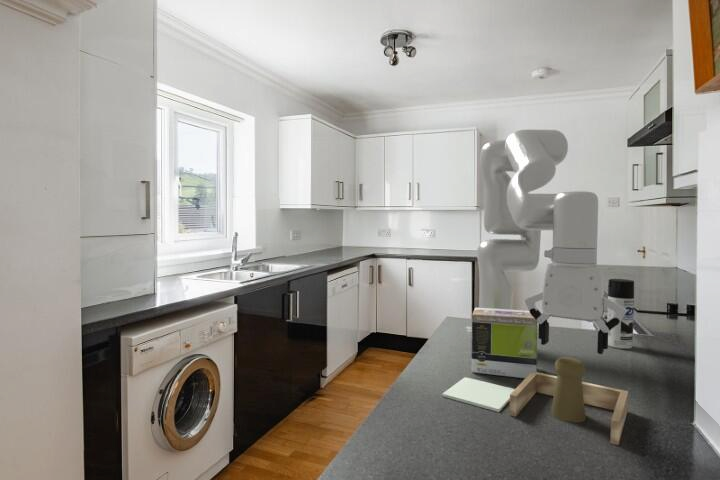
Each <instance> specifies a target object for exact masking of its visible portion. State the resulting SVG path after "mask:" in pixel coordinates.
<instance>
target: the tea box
mask: <svg viewBox="0 0 720 480" xmlns="http://www.w3.org/2000/svg"><path fill="white" fill-rule="evenodd" d="M473 309H474V310H473V311H472V314H471V327H472V334H471V357H470V359H471V373H476V374H483V375H485V374H486V375H494V376H502V377H511V378H520V379H525V378H526V377H527V376H528V375H529V374H530V373H531V372H532V371H534V372H538V371H537V367H538V323H537V320H536V319H535V318H534V317H533V316H532V315H531V314H530V311H529V309H528V310H525V309H512V310H511V309H495V308H479V306H478V307H474V308H473Z"/></svg>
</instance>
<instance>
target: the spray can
mask: <svg viewBox="0 0 720 480" xmlns="http://www.w3.org/2000/svg"><path fill="white" fill-rule="evenodd" d="M607 299H609V300H611V301H613V302H615V303H617V304H618V305H620V306H622V307H624V308H626V310H627V312H626V314H625V315H624V317H623V318H622V320H621V321H620V323H619V324H618V325H616V326H615V327H614V328H612V329H611V330H609V331H608V347H610V348H614V349H618V350H632V349H633V342H634V341H633V338H634V337H633V336H634V316H635V315H634V312H635V311H634V309H635V281H634V280H633V279H632V280H631V279H627V278H625V279H624V278H609V279H608V286H607ZM606 313H607V314H606V315H607V318H606V321H607V322H608V321H610V320H611V319H612V318H613V317H614V316H615V314H616V313H615V311H613V310H611V309H609V308H608V307H607V312H606Z"/></svg>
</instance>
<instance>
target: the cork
mask: <svg viewBox="0 0 720 480" xmlns="http://www.w3.org/2000/svg"><path fill="white" fill-rule="evenodd" d="M554 369H555V373H556V374H557V375H556V376H557V381H556V387H555V392H554V396H552V397H553V399H552V403H551V410H550V414H551V415H552V417H555V418H556V419H558V420H560V421H563V422H564V421H565V422H568V423H577V424H578V423H583V422H585V421H586V419H587V418H586V409H585V403H584V398H583V388H582V382H583V381H582V378H583V377H584V376H585V373H586V366H585V364H584V362H583V361H581V360H580V359H578V358H575V357H569V356H561V357H559V358H557V359H556V361H555V363H554Z"/></svg>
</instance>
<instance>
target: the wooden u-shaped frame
mask: <svg viewBox="0 0 720 480" xmlns="http://www.w3.org/2000/svg"><path fill="white" fill-rule="evenodd" d="M557 376H558V375H552V374H547V373H543V372H540V371H539V372H538V371H537V372H534V371H532V372H531V373H530V374H529V375H528V376H527V377H526V378H523V380H522V381H521V383H519V384H518V386H517V387H516V388H514V389H515V390H514V391H513V392H512V393H511V394H510V401H509V416H512V417H515V418H516V417H517V416H518V415H519V414H520V413H521V412H522V410H523V408H524V407H525V406H526V405H527V404H528V402H529V401H530V400H531V399H532V397H533V396H534V395H535V394H536V393H539V394H544V395H547V396H551V397H554V392H555V387H556V381H557ZM582 388H583V398H584V405H585V404H586V405H588V406H589V405H590V406H593V407H598V408H601V409H602V408H603V409H606V410H610V411H613V413H612V416H611V420H610V438H609V439H610V440H609V441H610V442H609V443H610V444H612V445H616V446H619V445H620V440H621V437H622V433H623V429H624V427H625V421H626V418H627V413H628V405H629V404H628V403H629V391H628V390H624V389H619V388H618V389H617V388H614V387H610V386H604V385H599V384H594V383H590V382H586V381H582Z"/></svg>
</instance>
